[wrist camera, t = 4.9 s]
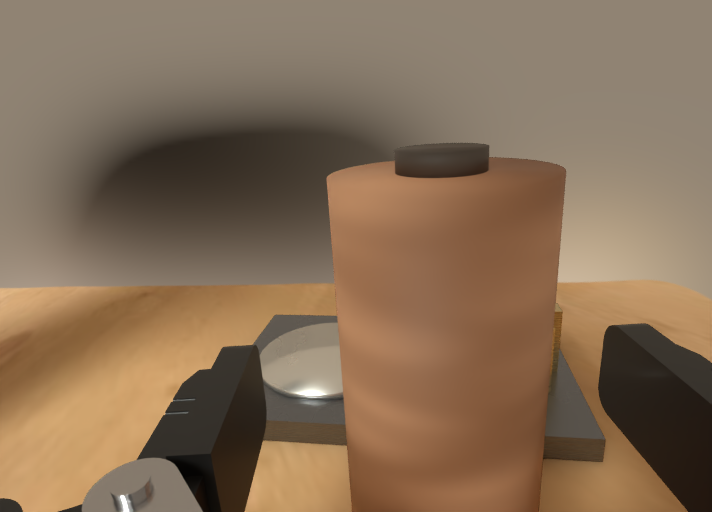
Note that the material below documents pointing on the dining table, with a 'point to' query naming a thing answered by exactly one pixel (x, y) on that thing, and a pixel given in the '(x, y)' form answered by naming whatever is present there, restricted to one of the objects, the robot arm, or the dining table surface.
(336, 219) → the brown round post
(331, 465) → the dining table surface
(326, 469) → the dining table surface
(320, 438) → the carrier plate
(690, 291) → the dining table surface
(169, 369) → the dining table surface
